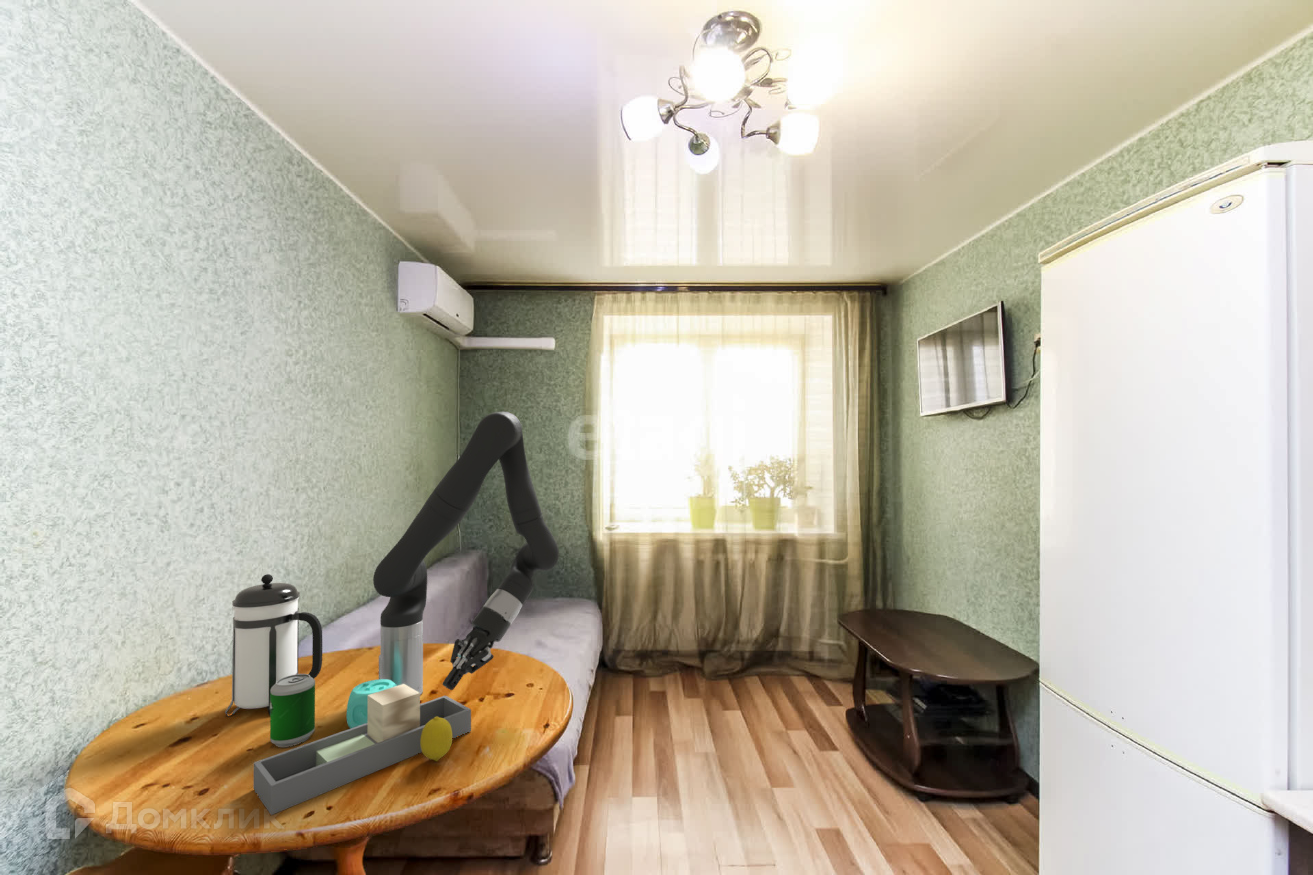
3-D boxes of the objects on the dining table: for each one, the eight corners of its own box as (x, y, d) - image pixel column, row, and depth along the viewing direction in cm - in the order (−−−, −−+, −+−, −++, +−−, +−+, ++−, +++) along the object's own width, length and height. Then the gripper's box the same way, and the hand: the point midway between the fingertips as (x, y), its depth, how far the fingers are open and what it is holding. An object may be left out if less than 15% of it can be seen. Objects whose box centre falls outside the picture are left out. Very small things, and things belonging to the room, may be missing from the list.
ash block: (403, 721, 112) (403, 683, 112) (419, 732, 107) (419, 692, 108) (367, 734, 107) (367, 695, 107) (382, 746, 102) (382, 705, 102)
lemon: (433, 772, 99) (433, 726, 99) (414, 763, 102) (414, 719, 102) (458, 757, 103) (458, 714, 104) (439, 749, 106) (439, 707, 107)
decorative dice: (359, 717, 120) (359, 680, 121) (398, 713, 122) (398, 677, 122) (345, 735, 113) (346, 695, 113) (388, 731, 114) (388, 691, 115)
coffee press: (228, 729, 116) (229, 585, 117) (222, 704, 128) (224, 574, 129) (322, 704, 128) (323, 573, 129) (309, 683, 140) (310, 564, 141)
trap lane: (445, 716, 120) (445, 695, 120) (471, 731, 113) (470, 709, 113) (253, 789, 94) (253, 762, 95) (271, 814, 87) (271, 785, 88)
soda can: (323, 733, 114) (323, 674, 114) (288, 752, 107) (289, 688, 107) (296, 728, 116) (297, 670, 117) (260, 746, 109) (261, 684, 109)
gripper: (471, 601, 127) (419, 671, 118) (503, 610, 119) (450, 686, 109) (492, 618, 131) (443, 688, 121) (525, 629, 122) (475, 704, 113)
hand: (447, 687), depth 115 cm, fingers closed
